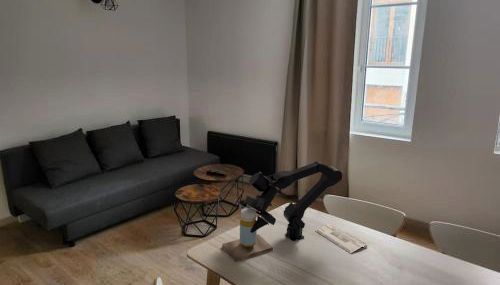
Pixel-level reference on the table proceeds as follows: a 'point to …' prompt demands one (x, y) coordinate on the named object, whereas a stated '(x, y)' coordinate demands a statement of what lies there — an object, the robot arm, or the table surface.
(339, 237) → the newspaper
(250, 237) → the bottle
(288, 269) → the table surface
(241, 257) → the brown rectangular board
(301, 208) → the robot arm
